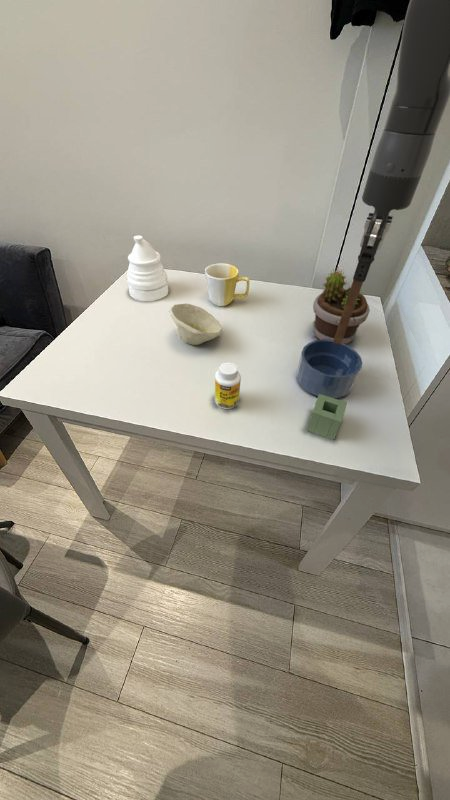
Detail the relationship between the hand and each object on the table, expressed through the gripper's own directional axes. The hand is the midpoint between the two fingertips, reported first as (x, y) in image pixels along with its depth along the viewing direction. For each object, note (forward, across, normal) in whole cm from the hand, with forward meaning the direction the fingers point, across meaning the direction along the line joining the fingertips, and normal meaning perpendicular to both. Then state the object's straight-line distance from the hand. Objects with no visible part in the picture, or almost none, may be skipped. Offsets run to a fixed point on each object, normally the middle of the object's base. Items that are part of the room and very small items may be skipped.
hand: (359, 277), depth 62 cm
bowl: (+27, +1, +36) cm, 45 cm away
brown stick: (+15, 0, 0) cm, 15 cm away
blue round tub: (+27, 0, 0) cm, 27 cm away
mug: (+27, +23, +37) cm, 51 cm away
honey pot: (+27, +18, +63) cm, 71 cm away
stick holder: (+27, -15, -3) cm, 31 cm away
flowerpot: (+27, +20, +2) cm, 34 cm away
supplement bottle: (+27, -17, +19) cm, 37 cm away
